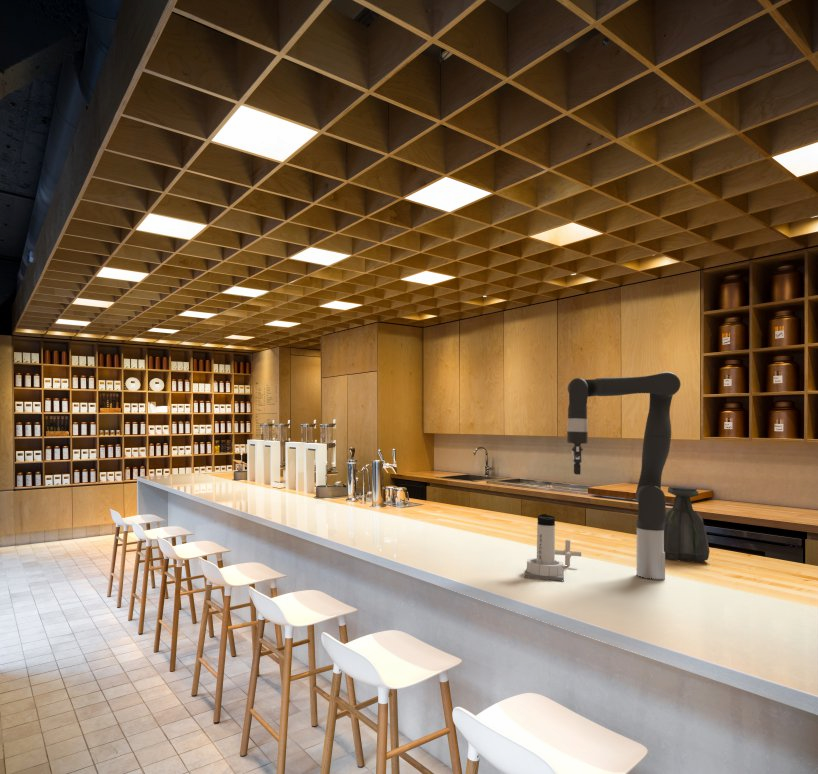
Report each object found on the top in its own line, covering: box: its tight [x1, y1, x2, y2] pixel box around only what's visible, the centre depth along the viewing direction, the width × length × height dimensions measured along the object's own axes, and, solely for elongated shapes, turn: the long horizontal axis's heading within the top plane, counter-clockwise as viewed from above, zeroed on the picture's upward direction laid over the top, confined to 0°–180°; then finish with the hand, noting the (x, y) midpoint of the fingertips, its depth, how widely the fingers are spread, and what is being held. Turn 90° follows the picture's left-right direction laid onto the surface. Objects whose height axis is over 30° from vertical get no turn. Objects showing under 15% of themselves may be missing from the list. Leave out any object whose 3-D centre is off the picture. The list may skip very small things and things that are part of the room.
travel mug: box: [536, 513, 556, 565], centre depth 208 cm, size 6×7×20 cm
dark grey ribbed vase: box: [664, 486, 710, 563], centre depth 249 cm, size 18×16×30 cm
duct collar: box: [524, 557, 565, 582], centre depth 207 cm, size 13×13×5 cm
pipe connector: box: [555, 539, 582, 567], centre depth 223 cm, size 10×10×10 cm
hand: (577, 473), depth 218 cm, fingers open, 8 cm apart
